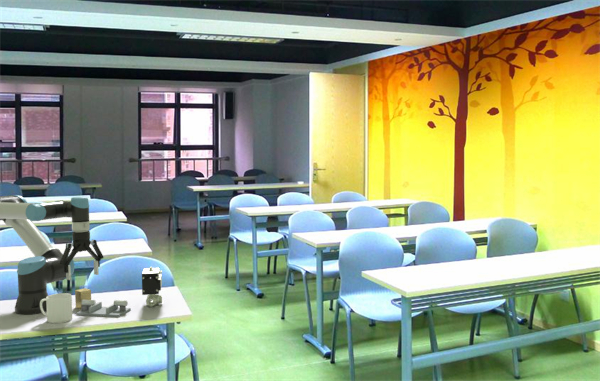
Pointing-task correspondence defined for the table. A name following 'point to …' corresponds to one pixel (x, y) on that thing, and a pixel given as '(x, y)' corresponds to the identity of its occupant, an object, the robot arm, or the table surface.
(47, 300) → the mug
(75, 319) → the table surface
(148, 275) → the ball valve
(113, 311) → the shaft rig
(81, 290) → the coupling block
